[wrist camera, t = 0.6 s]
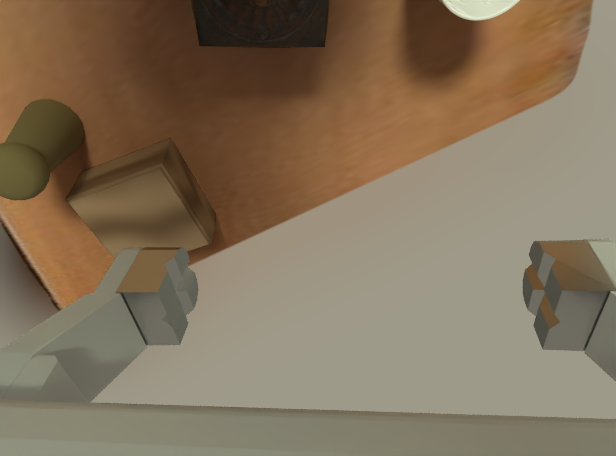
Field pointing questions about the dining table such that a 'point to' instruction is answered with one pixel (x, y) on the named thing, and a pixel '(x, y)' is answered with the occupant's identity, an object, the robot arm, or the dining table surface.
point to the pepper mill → (261, 23)
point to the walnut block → (144, 201)
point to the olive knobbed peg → (37, 148)
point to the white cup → (478, 8)
